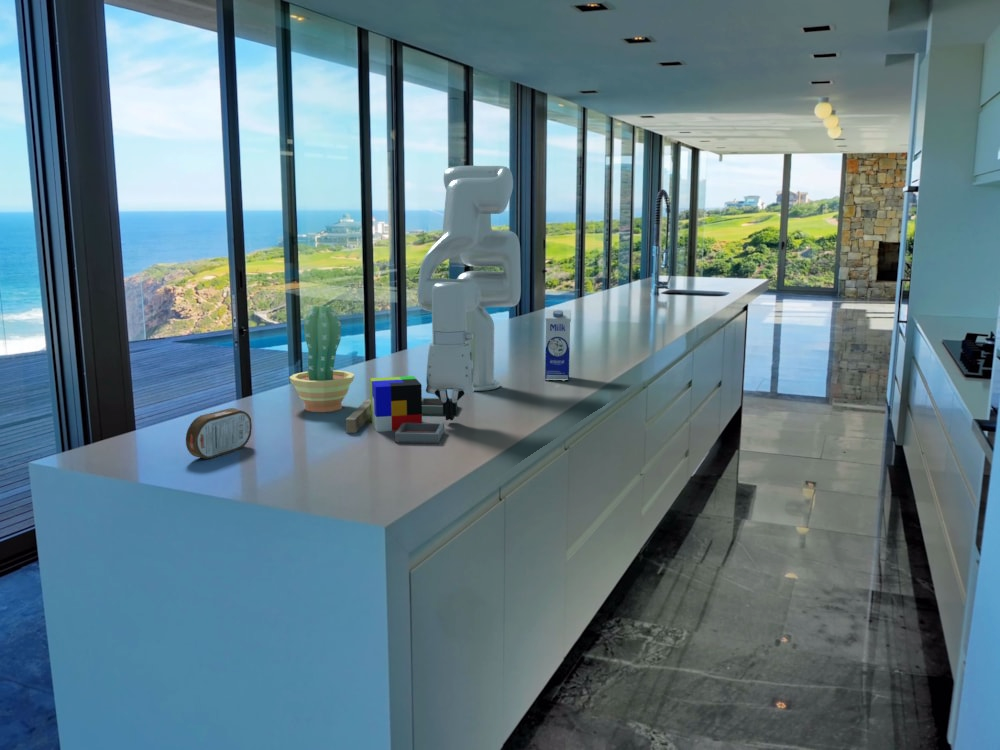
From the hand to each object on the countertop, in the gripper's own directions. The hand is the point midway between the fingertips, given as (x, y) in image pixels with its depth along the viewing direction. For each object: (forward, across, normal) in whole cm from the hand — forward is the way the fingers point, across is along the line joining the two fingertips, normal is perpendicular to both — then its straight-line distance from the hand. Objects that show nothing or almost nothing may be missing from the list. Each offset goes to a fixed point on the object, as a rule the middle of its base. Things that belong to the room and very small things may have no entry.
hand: (450, 418), depth 184 cm
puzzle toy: (+1, +12, +2) cm, 12 cm away
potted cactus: (+1, +33, -12) cm, 35 cm away
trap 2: (+1, +5, -12) cm, 13 cm away
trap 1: (+1, +4, +13) cm, 13 cm away
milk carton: (+1, -23, -54) cm, 59 cm away
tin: (+1, +41, +28) cm, 50 cm away
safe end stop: (+1, +20, 0) cm, 20 cm away
